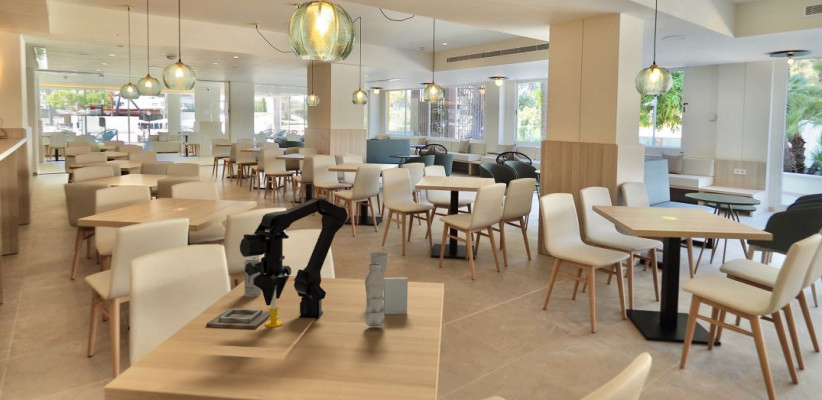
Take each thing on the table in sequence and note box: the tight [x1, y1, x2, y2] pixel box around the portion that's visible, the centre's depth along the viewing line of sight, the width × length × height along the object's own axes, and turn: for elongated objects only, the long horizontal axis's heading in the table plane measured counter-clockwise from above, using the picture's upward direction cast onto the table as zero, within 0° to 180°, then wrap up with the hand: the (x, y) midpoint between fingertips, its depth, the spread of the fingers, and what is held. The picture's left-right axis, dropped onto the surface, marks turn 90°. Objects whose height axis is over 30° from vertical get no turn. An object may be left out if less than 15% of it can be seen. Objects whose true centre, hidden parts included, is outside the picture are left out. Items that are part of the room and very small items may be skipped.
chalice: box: [369, 252, 389, 301], centre depth 202 cm, size 7×7×18 cm
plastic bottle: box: [364, 262, 386, 328], centre depth 173 cm, size 6×7×20 cm
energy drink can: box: [243, 256, 262, 298], centre depth 205 cm, size 6×6×15 cm
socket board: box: [205, 308, 270, 330], centre depth 177 cm, size 16×16×2 cm
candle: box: [264, 290, 283, 328], centre depth 173 cm, size 5×5×16 cm
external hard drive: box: [383, 277, 409, 315], centre depth 188 cm, size 2×8×12 cm, turn 98°
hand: (272, 301), depth 173 cm, fingers closed on candle, 8 cm apart
